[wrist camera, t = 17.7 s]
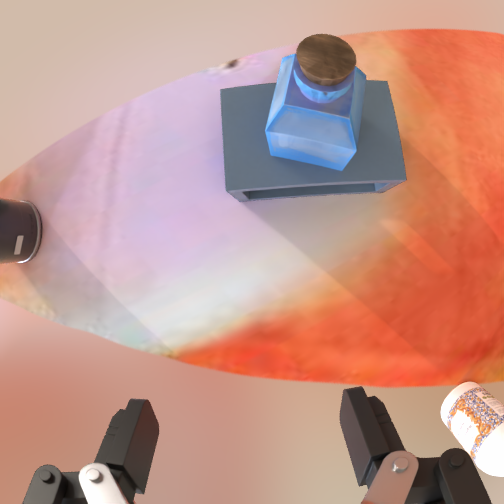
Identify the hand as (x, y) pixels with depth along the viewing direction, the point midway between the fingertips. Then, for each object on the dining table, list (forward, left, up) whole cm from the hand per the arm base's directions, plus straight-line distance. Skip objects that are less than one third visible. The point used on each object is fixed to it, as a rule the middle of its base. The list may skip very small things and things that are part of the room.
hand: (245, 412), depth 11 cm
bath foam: (+25, -17, -23) cm, 38 cm away
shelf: (+5, +16, -23) cm, 28 cm away
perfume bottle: (+5, +16, -15) cm, 23 cm away
